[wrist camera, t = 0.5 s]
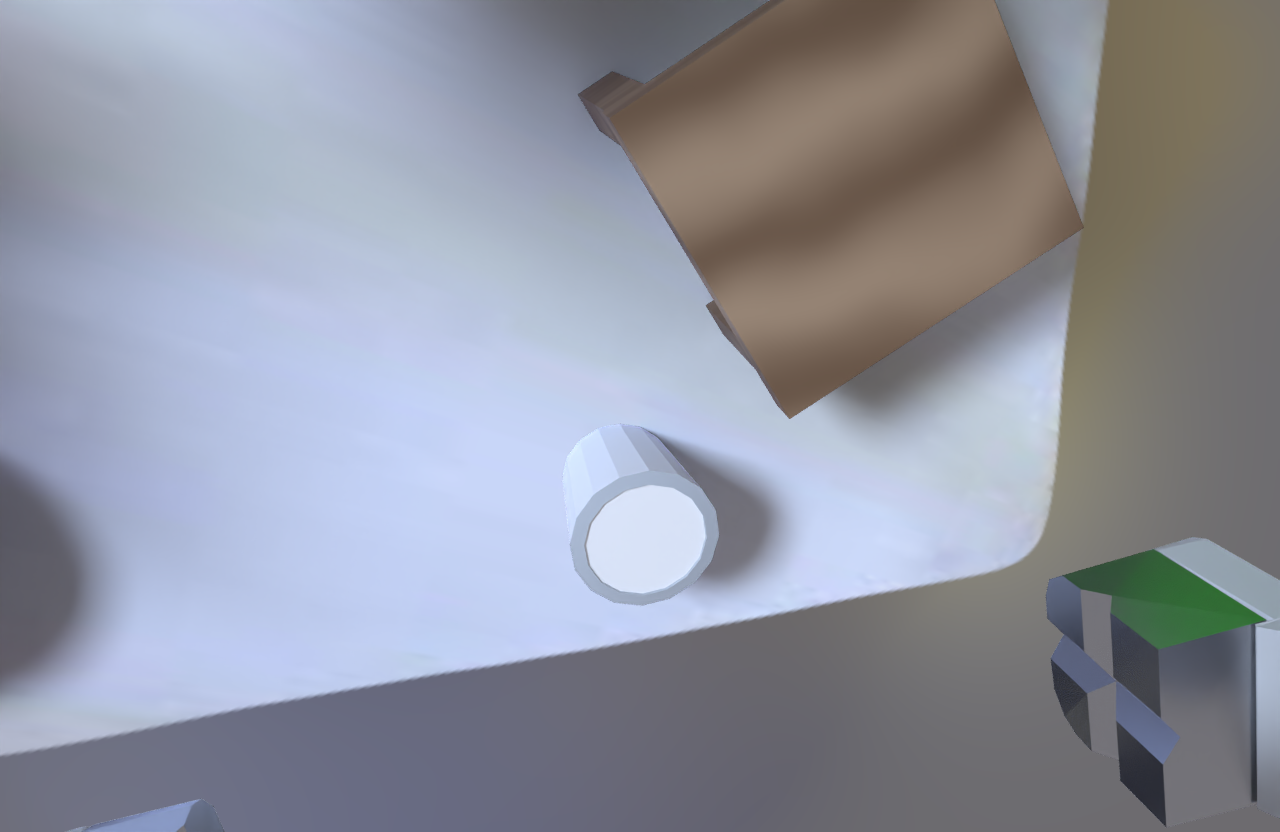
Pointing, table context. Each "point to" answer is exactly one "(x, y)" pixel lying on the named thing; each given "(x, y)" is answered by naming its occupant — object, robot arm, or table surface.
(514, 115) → the table surface
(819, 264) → the wooden stool
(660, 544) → the white cup
